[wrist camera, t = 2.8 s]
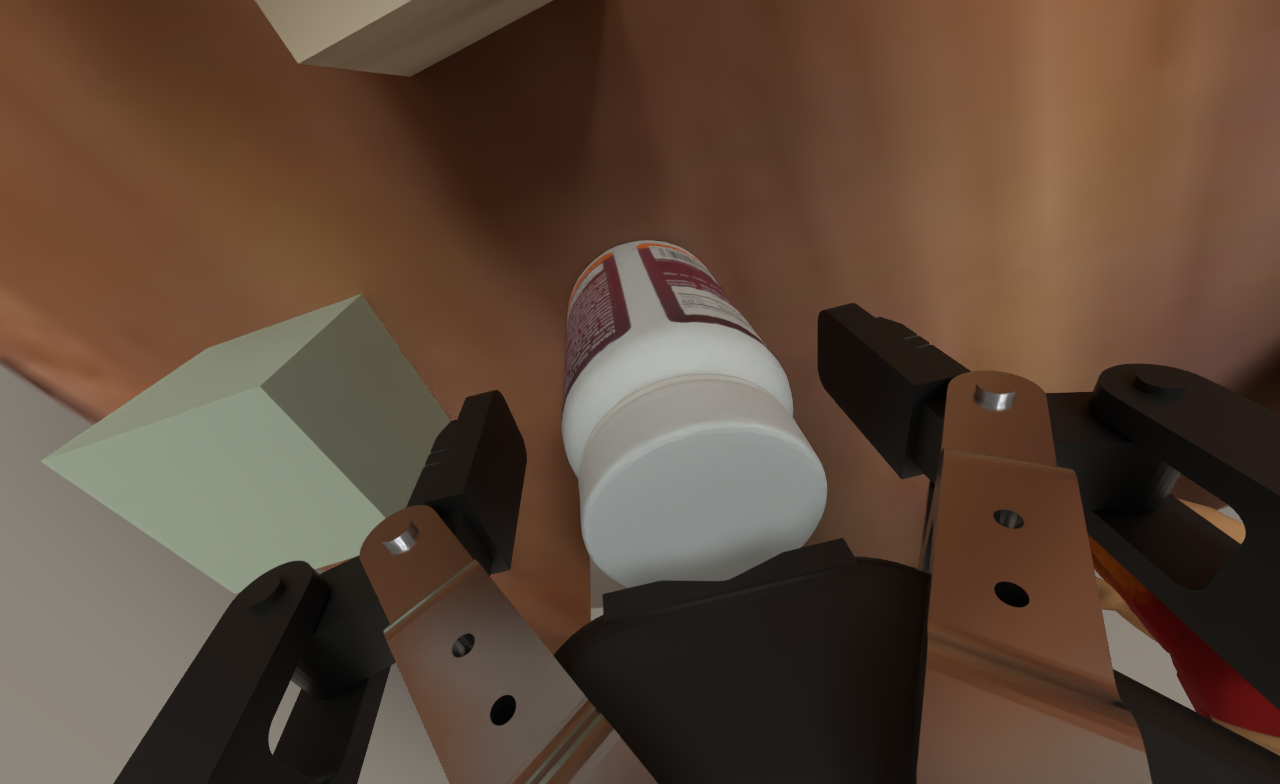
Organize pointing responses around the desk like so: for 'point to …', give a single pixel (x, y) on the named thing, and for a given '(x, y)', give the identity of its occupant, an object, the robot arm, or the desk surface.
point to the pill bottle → (679, 425)
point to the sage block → (267, 446)
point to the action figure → (1191, 646)
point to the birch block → (387, 30)
